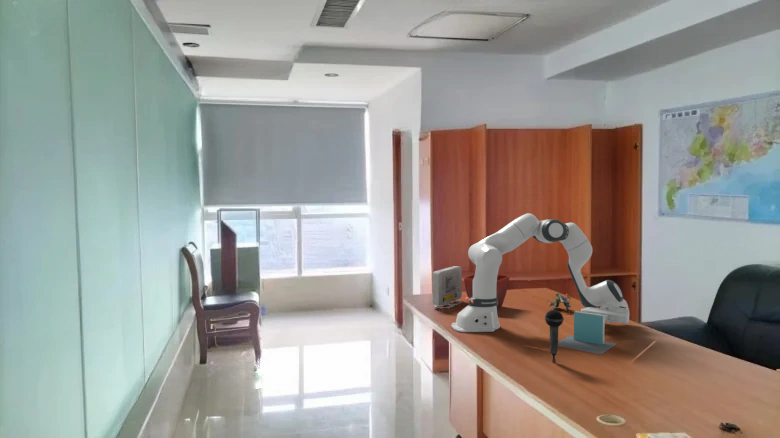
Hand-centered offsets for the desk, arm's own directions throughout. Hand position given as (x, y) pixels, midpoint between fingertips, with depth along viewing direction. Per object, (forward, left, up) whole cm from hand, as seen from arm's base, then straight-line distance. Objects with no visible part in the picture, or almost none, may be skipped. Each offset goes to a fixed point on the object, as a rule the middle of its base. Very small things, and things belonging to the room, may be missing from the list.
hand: (598, 318), depth 242 cm
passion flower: (+8, +48, -8) cm, 49 cm away
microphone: (-36, -26, -8) cm, 45 cm away
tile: (-9, -7, -7) cm, 14 cm away
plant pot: (-26, +64, -8) cm, 70 cm away
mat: (-13, -10, -8) cm, 19 cm away
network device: (-44, +76, -8) cm, 88 cm away
